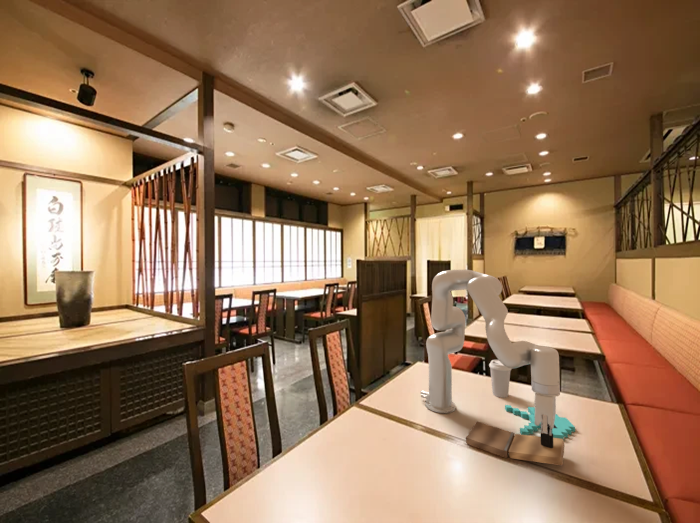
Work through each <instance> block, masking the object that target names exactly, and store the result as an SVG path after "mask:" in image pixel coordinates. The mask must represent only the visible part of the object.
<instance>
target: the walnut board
mask: <svg viewBox="0 0 700 523" xmlns="http://www.w3.org/2000/svg"><path fill="white" fill-rule="evenodd" d="M515 434H516V433H515V432H513V431H509V430H506V429H502V428H499V427H497V426H493V425H490V424H487V423H483V422H481V421H478V420H476V422H475V423H474V425H473V426H472V428H471V429H470V431H469V432H468V434H467V435H466V437H465V439H466V440H465V443H467V445H469V446H472V447H475V448H478V449H480V450H483V451H485V452H488V453H491V454H493V455H496V454H497V455H496V456H499V455H500V456H499V457H502V458H505V459H508V457H509V452H508V451H509V449H510V446H511V444H512V441H513V439H514V436H515Z"/></svg>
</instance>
